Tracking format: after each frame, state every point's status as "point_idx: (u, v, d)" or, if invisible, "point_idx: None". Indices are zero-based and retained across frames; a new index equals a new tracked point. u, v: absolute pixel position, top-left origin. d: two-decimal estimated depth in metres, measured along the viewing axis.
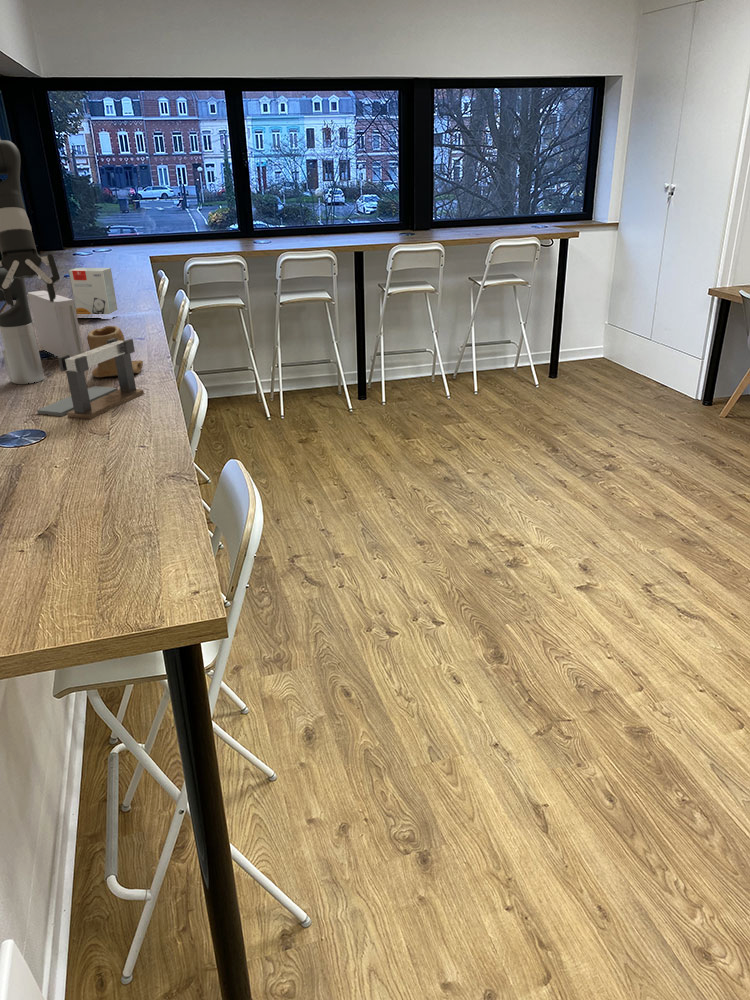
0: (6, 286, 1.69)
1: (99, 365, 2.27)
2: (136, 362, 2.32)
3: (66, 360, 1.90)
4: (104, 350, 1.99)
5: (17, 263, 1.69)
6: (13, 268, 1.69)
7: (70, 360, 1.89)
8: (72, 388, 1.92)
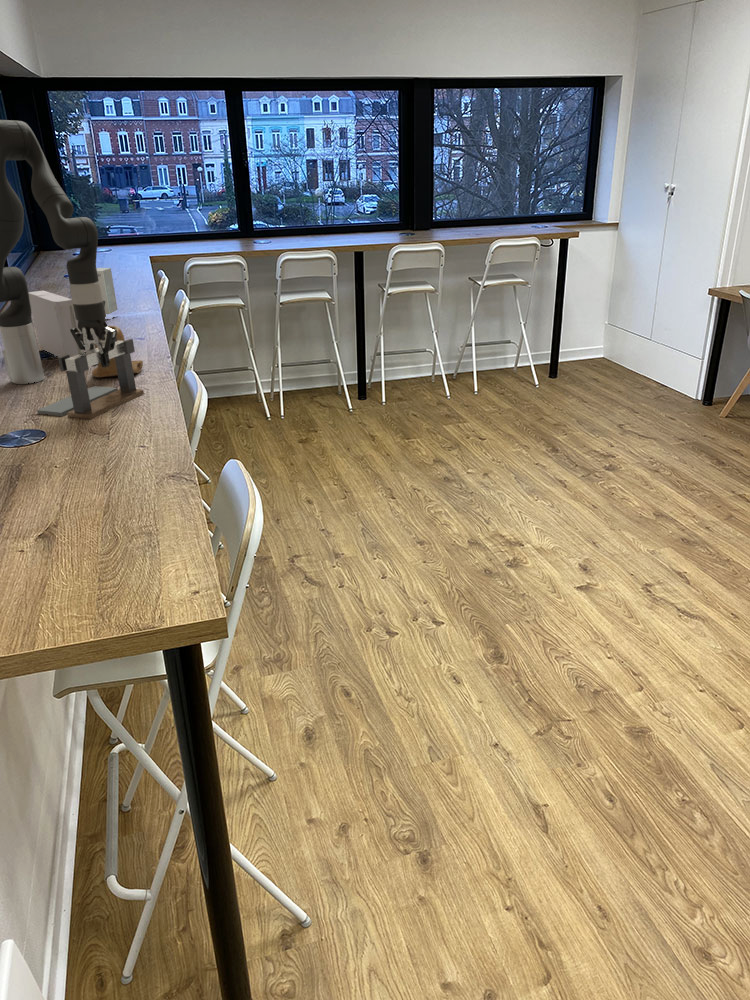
0: (88, 350, 1.98)
1: (99, 365, 2.27)
2: (136, 362, 2.32)
3: (66, 360, 1.90)
4: None
5: (85, 329, 1.94)
6: (84, 334, 1.95)
7: (70, 360, 1.89)
8: (72, 388, 1.92)
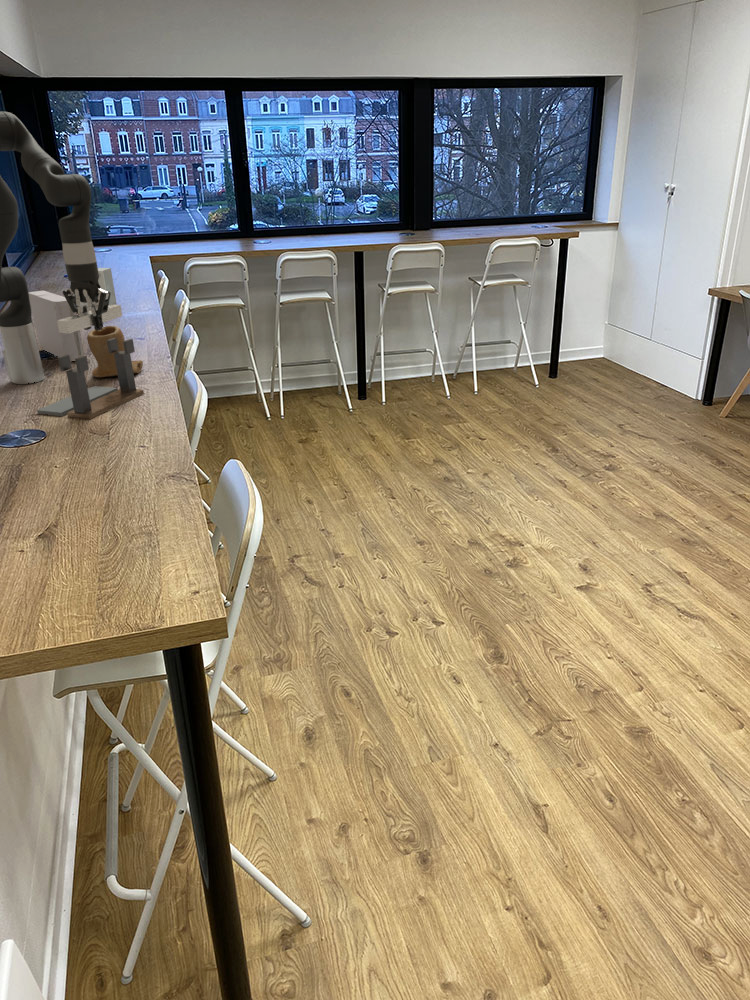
0: (80, 313, 1.94)
1: (99, 365, 2.27)
2: (136, 362, 2.32)
3: (58, 321, 1.86)
4: None
5: (77, 291, 1.90)
6: (77, 296, 1.91)
7: (62, 321, 1.85)
8: (72, 388, 1.92)
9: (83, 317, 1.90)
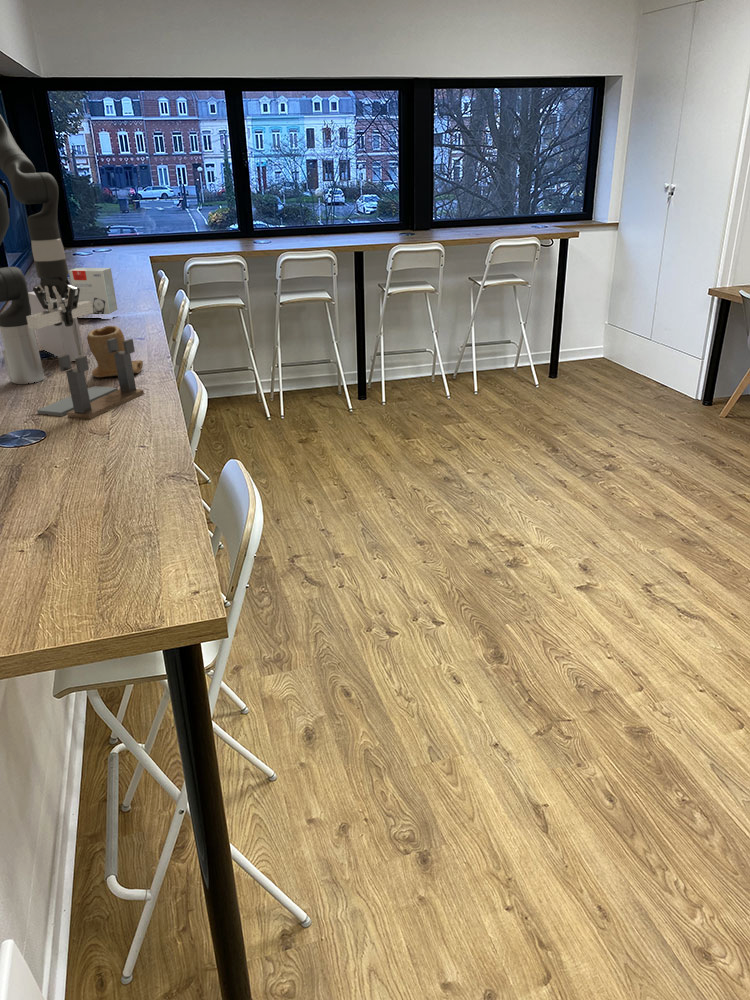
0: (51, 309, 1.97)
1: (99, 365, 2.27)
2: (136, 362, 2.32)
3: (27, 317, 1.88)
4: None
5: (47, 288, 1.93)
6: (47, 293, 1.94)
7: (31, 317, 1.88)
8: (72, 388, 1.92)
9: (53, 313, 1.93)
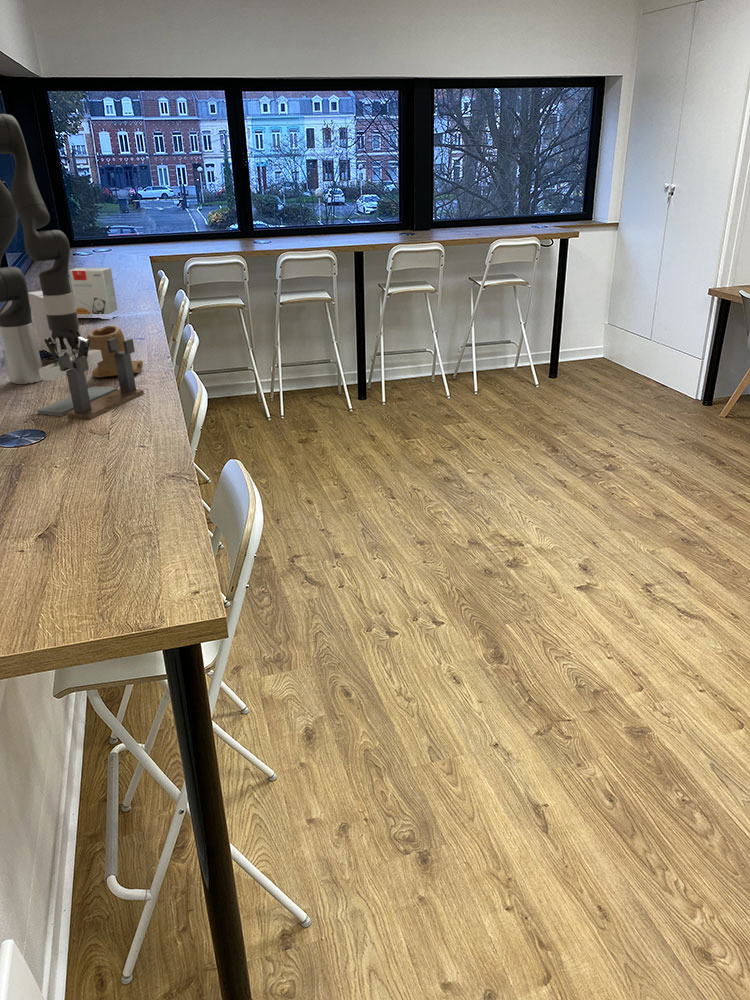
0: None
1: (99, 365, 2.27)
2: (136, 362, 2.32)
3: (39, 369, 1.94)
4: None
5: (58, 339, 1.99)
6: (58, 344, 2.00)
7: (43, 369, 1.94)
8: (72, 388, 1.92)
9: None
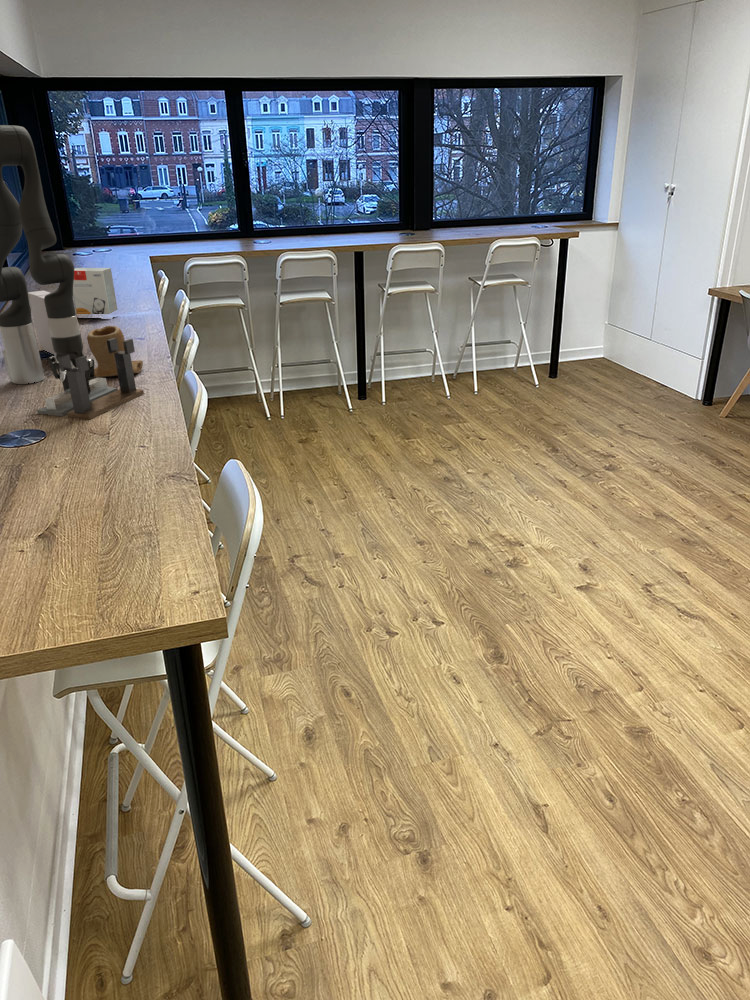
0: (62, 379, 2.05)
1: (99, 365, 2.27)
2: (136, 362, 2.32)
3: (46, 400, 1.98)
4: None
5: None
6: None
7: (50, 400, 1.97)
8: (72, 388, 1.92)
9: (70, 394, 2.02)
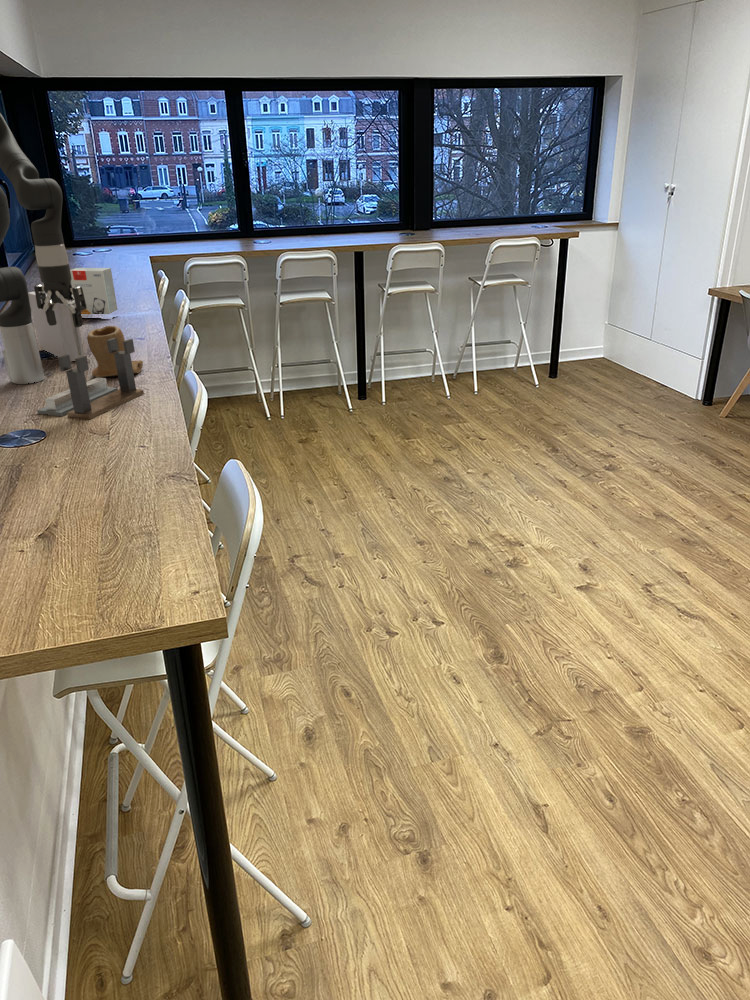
0: (45, 309, 1.99)
1: (99, 365, 2.27)
2: (136, 362, 2.32)
3: (46, 400, 1.98)
4: None
5: (50, 293, 1.95)
6: (48, 296, 1.96)
7: (50, 400, 1.97)
8: (72, 388, 1.92)
9: (70, 394, 2.02)
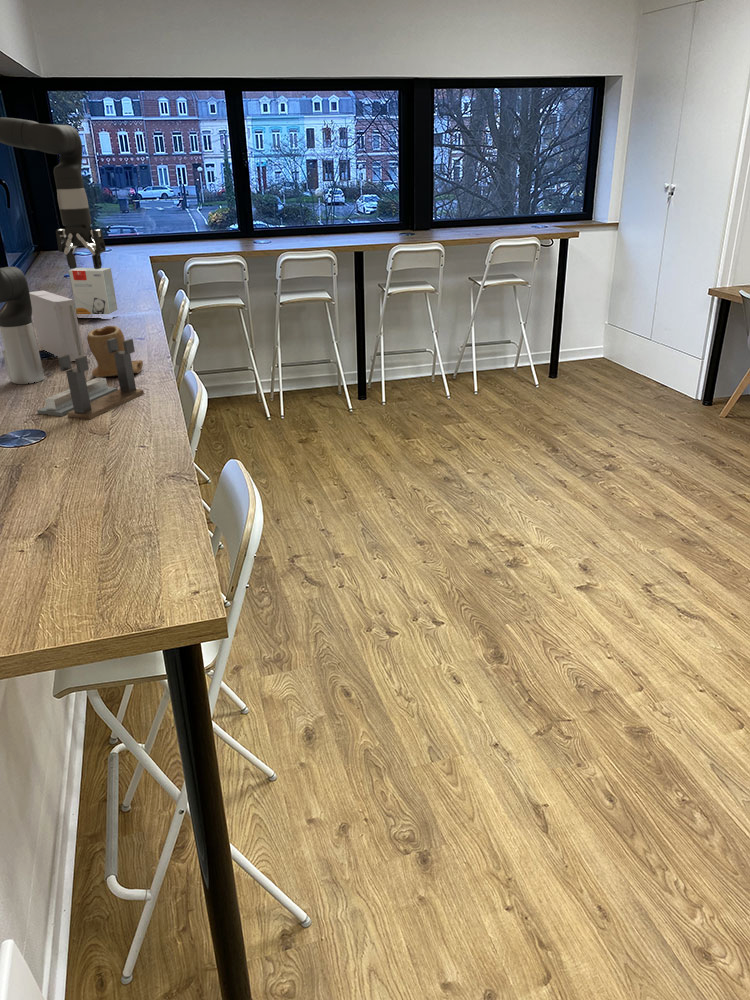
0: (66, 252, 2.09)
1: (99, 365, 2.27)
2: (136, 362, 2.32)
3: (46, 400, 1.98)
4: None
5: (71, 236, 2.05)
6: (69, 239, 2.06)
7: (50, 400, 1.97)
8: (72, 388, 1.92)
9: (70, 394, 2.02)
